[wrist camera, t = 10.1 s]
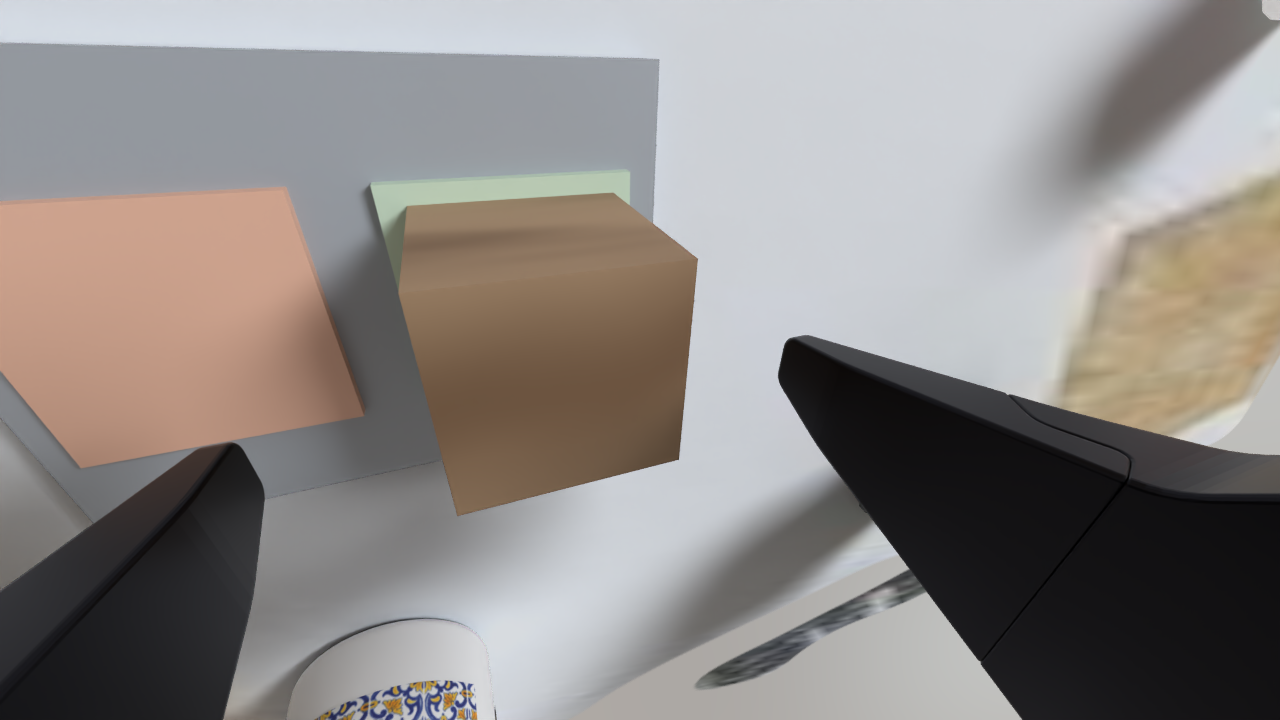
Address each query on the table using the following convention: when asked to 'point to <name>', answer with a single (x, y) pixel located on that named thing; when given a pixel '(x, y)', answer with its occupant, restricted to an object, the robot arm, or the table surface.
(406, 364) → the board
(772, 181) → the table surface
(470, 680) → the bath foam
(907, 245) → the table surface
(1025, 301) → the table surface
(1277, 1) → the beverage cup
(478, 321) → the walnut block
